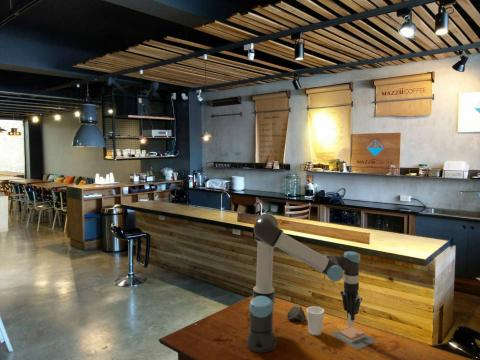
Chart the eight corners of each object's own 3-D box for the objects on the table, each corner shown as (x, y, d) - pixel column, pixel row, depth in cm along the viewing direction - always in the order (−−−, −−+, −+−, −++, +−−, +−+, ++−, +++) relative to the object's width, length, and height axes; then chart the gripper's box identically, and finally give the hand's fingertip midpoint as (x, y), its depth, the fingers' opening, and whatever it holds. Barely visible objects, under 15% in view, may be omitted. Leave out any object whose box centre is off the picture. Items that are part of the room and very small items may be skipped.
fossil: (282, 315, 221) (288, 299, 223) (294, 320, 225) (300, 304, 226) (292, 323, 211) (299, 306, 213) (304, 327, 215) (311, 310, 216)
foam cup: (324, 338, 195) (324, 314, 194) (306, 337, 197) (306, 313, 196) (323, 329, 205) (323, 306, 204) (306, 328, 207) (306, 305, 205)
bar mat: (357, 350, 183) (357, 349, 183) (330, 335, 199) (330, 334, 199) (377, 342, 191) (377, 340, 191) (350, 327, 207) (350, 326, 207)
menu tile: (339, 335, 197) (351, 342, 190) (339, 331, 197) (351, 337, 190) (352, 330, 202) (364, 337, 195) (352, 326, 202) (364, 332, 195)
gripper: (366, 284, 191) (365, 328, 193) (346, 276, 202) (346, 318, 204) (356, 287, 187) (355, 332, 189) (336, 279, 198) (336, 322, 200)
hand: (350, 325), depth 196 cm, fingers closed
